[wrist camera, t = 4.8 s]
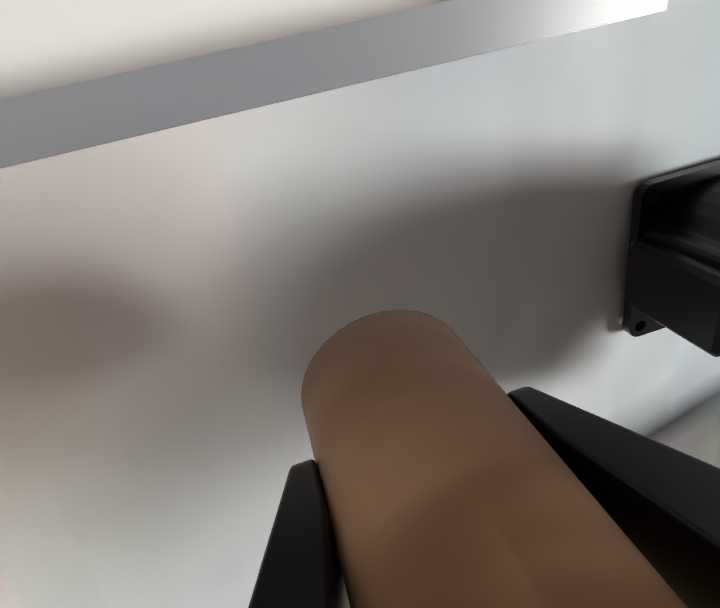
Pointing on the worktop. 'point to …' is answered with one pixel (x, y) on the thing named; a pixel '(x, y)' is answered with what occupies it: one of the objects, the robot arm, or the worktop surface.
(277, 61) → the box
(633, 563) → the peg
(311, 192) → the worktop surface
